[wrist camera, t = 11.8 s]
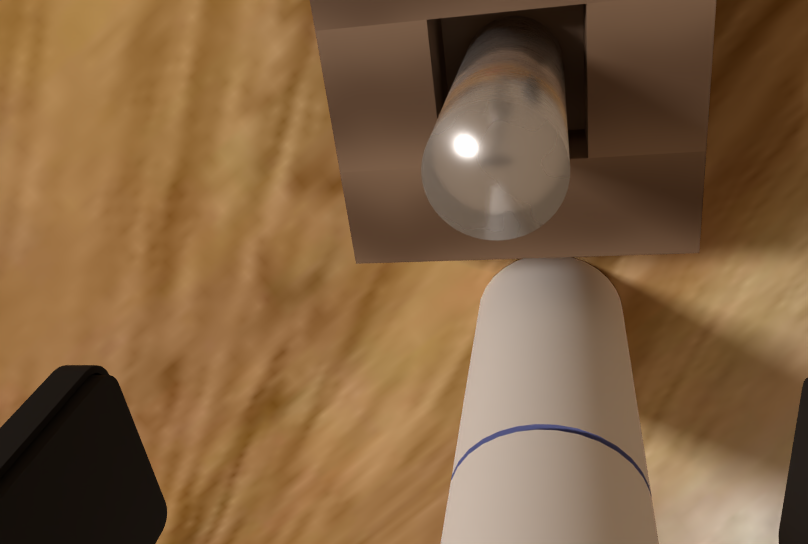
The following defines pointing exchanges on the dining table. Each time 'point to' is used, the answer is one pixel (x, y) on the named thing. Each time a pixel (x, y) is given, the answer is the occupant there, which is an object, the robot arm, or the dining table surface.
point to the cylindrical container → (550, 416)
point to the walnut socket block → (586, 121)
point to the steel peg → (501, 134)
